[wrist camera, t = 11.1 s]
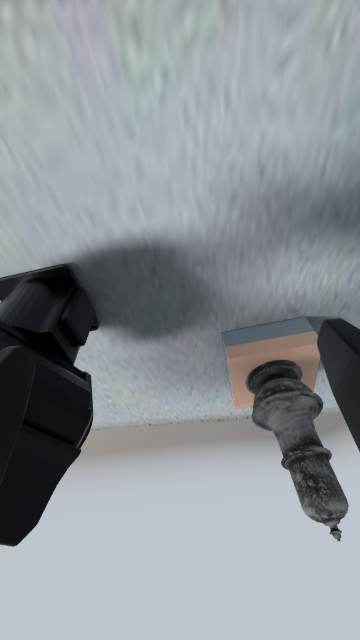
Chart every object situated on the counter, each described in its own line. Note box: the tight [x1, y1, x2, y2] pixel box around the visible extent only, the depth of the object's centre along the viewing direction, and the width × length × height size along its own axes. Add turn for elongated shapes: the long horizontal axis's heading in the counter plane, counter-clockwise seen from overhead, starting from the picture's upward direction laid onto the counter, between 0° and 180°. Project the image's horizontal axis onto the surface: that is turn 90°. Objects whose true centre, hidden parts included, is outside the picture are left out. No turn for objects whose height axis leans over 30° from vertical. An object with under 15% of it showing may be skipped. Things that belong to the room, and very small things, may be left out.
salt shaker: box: [245, 360, 348, 541], centre depth 20 cm, size 6×6×12 cm
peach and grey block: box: [222, 317, 320, 409], centre depth 26 cm, size 8×8×4 cm
